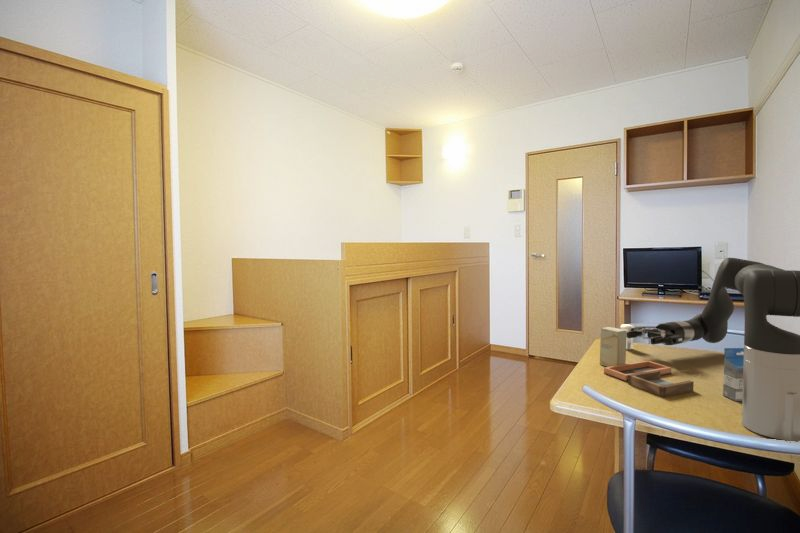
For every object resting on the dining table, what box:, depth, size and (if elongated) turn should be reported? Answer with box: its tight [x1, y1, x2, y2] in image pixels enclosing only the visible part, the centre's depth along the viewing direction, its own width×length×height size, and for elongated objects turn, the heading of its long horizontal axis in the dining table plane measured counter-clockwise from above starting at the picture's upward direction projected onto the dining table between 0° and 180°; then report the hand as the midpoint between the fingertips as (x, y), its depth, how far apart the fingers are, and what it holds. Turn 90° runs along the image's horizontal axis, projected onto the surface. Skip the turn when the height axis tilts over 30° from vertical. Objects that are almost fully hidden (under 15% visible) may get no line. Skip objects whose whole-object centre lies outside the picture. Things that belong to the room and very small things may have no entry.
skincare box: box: [599, 326, 627, 367], centre depth 120 cm, size 6×4×12 cm
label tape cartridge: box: [722, 347, 744, 402], centre depth 93 cm, size 9×4×12 cm, turn 88°
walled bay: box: [627, 370, 695, 398], centre depth 102 cm, size 10×11×2 cm
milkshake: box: [619, 322, 638, 351], centre depth 139 cm, size 4×5×10 cm
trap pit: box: [603, 360, 672, 383], centre depth 113 cm, size 8×18×2 cm, turn 109°
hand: (639, 337), depth 123 cm, fingers open, 8 cm apart
